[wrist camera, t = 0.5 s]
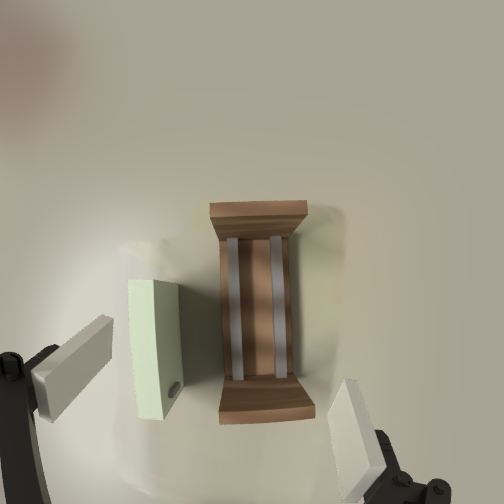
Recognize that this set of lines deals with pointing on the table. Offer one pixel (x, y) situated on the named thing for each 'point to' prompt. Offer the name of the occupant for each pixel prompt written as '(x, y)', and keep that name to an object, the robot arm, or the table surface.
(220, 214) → the wooden rail bracket
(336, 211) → the table surface
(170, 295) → the door panel
